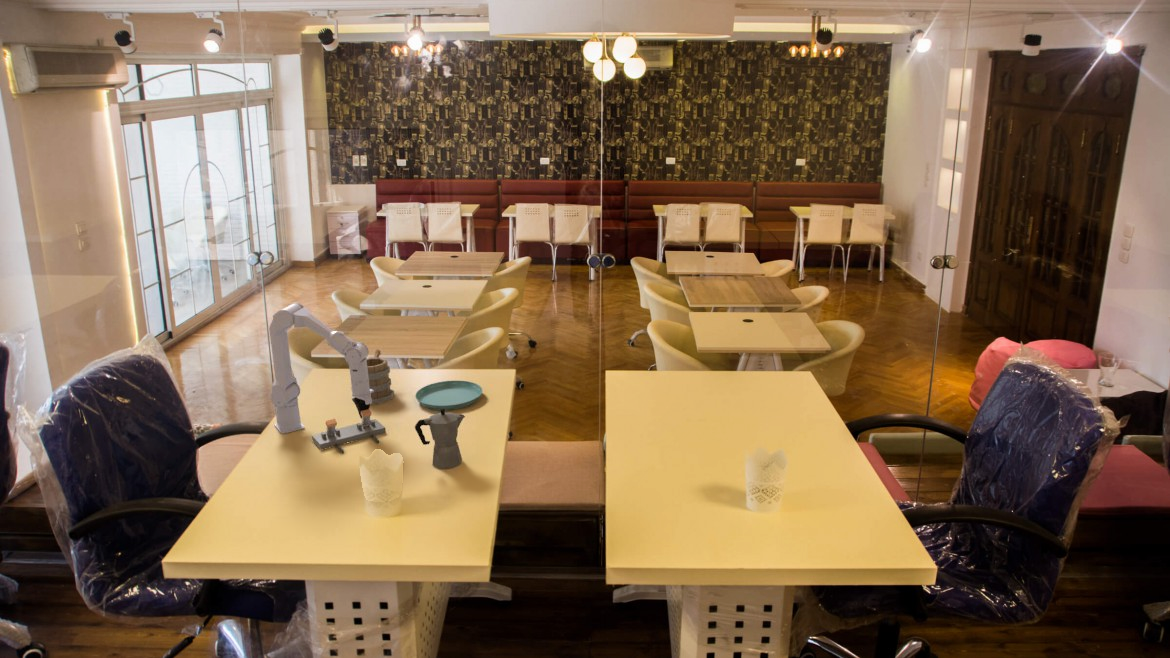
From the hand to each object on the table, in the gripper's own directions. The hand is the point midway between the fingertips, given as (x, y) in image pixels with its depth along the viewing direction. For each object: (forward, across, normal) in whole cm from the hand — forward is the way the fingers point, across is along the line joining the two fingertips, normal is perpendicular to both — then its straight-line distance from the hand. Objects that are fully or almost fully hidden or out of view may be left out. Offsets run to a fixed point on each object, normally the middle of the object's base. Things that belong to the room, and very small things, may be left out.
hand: (364, 417), depth 301 cm
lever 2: (+2, -1, 0) cm, 2 cm away
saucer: (+6, +9, -35) cm, 37 cm away
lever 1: (+2, -1, +12) cm, 12 cm away
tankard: (+5, +31, -16) cm, 35 cm away
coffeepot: (+5, -39, -11) cm, 41 cm away
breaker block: (+5, -4, +6) cm, 9 cm away
